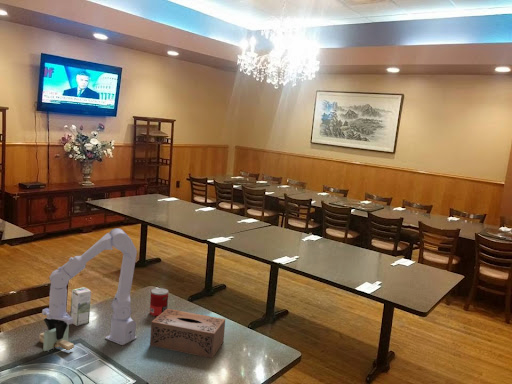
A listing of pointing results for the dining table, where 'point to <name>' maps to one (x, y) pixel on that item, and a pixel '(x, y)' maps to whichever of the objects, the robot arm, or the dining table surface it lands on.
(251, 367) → the dining table surface
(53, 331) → the cross plate
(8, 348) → the dining table surface
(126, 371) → the dining table surface
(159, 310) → the canned food
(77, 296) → the syrup box
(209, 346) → the tissue box cover
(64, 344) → the slotted rail
